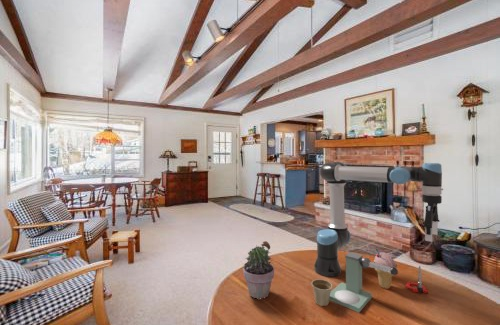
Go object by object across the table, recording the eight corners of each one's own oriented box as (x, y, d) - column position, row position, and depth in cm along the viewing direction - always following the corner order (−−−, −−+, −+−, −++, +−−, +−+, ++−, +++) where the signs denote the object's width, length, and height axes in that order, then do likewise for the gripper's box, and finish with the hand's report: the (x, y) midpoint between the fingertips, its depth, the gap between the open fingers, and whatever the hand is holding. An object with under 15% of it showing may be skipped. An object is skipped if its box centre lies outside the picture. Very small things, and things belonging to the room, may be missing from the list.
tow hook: (402, 283, 129) (411, 292, 120) (402, 259, 130) (411, 266, 120) (420, 285, 128) (430, 294, 119) (419, 260, 128) (429, 267, 119)
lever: (359, 266, 116) (359, 258, 116) (362, 264, 118) (362, 256, 118) (396, 278, 105) (396, 268, 105) (398, 275, 107) (398, 266, 107)
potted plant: (233, 302, 114) (232, 250, 114) (248, 282, 132) (247, 237, 132) (270, 310, 108) (269, 255, 107) (280, 287, 126) (279, 240, 126)
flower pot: (332, 298, 116) (332, 280, 116) (332, 310, 107) (332, 291, 107) (312, 295, 119) (312, 277, 119) (310, 306, 110) (310, 287, 110)
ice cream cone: (387, 294, 119) (387, 254, 118) (368, 284, 129) (368, 246, 128) (401, 288, 124) (401, 250, 123) (382, 279, 133) (382, 243, 133)
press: (326, 299, 115) (326, 259, 115) (341, 285, 127) (341, 249, 127) (358, 313, 105) (358, 269, 104) (372, 297, 117) (372, 257, 116)
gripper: (436, 198, 107) (436, 246, 107) (445, 192, 124) (445, 233, 125) (416, 196, 112) (416, 242, 113) (427, 191, 129) (427, 230, 130)
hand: (431, 237), depth 119 cm, fingers open, 13 cm apart
